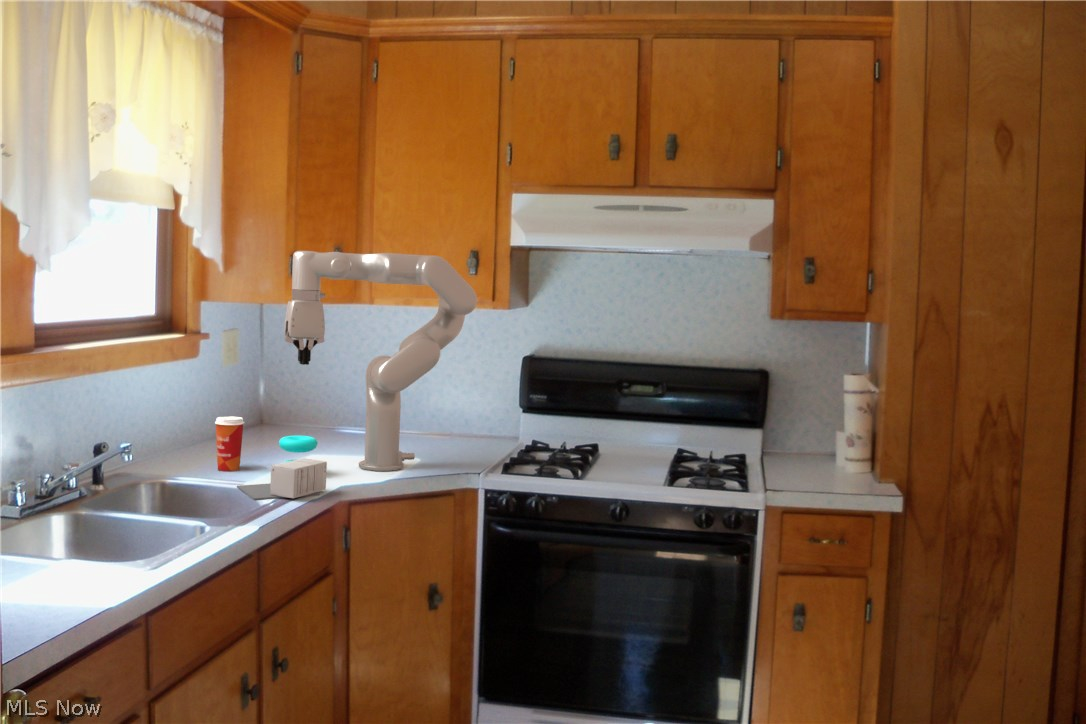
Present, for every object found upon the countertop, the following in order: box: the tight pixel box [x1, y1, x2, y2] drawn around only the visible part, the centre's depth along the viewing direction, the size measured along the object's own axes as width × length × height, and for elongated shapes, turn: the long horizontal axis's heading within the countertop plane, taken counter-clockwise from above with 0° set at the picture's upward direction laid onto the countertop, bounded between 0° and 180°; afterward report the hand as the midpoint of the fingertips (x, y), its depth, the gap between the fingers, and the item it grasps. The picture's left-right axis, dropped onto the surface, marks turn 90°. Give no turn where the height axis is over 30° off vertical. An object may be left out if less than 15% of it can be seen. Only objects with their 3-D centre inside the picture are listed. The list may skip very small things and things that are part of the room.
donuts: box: [278, 434, 318, 463], centre depth 265 cm, size 10×10×10 cm
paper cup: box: [214, 415, 245, 472], centre depth 267 cm, size 8×8×14 cm
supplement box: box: [270, 457, 328, 499], centre depth 242 cm, size 7×7×13 cm
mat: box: [236, 482, 320, 501], centre depth 244 cm, size 16×15×1 cm
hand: (304, 364), depth 270 cm, fingers closed
